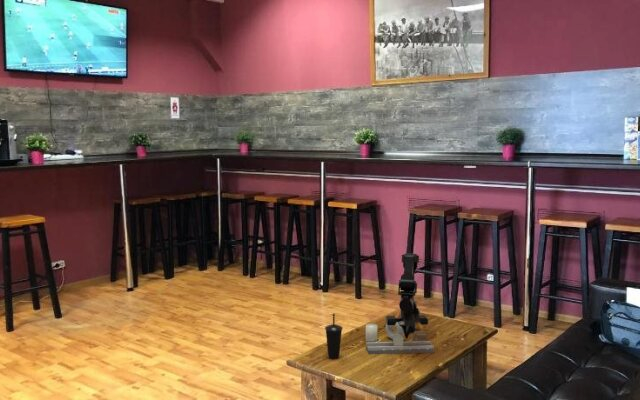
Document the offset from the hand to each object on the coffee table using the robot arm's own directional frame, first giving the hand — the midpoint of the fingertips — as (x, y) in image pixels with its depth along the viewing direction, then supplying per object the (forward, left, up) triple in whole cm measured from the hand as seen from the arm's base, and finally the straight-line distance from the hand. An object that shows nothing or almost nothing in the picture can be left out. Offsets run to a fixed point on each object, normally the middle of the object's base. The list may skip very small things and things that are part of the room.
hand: (406, 338), depth 273 cm
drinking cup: (+7, -34, -6) cm, 35 cm away
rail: (0, -3, -6) cm, 6 cm away
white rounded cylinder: (-14, -14, -6) cm, 21 cm away
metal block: (-11, +9, -6) cm, 15 cm away
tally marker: (0, -4, -4) cm, 5 cm away
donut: (-13, -3, -6) cm, 15 cm away
